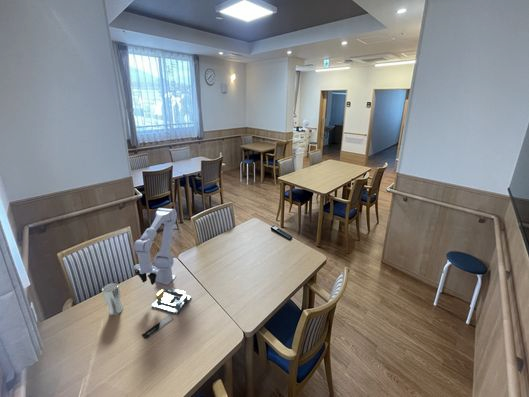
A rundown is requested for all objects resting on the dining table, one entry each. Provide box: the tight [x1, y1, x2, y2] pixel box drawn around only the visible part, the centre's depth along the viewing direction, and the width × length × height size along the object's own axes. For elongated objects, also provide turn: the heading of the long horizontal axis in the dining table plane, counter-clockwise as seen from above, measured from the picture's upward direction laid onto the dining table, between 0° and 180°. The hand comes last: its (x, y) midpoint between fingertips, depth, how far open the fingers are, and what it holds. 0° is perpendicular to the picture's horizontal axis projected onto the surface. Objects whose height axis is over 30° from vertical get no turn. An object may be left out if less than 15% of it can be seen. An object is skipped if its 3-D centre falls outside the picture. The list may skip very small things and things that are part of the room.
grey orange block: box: [156, 289, 175, 303], centre depth 133 cm, size 8×4×4 cm, turn 73°
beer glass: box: [101, 282, 124, 316], centre depth 125 cm, size 7×7×15 cm
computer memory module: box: [141, 314, 174, 340], centre depth 119 cm, size 15×1×4 cm
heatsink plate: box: [151, 287, 192, 316], centre depth 133 cm, size 16×12×4 cm
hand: (149, 282), depth 133 cm, fingers open, 5 cm apart
